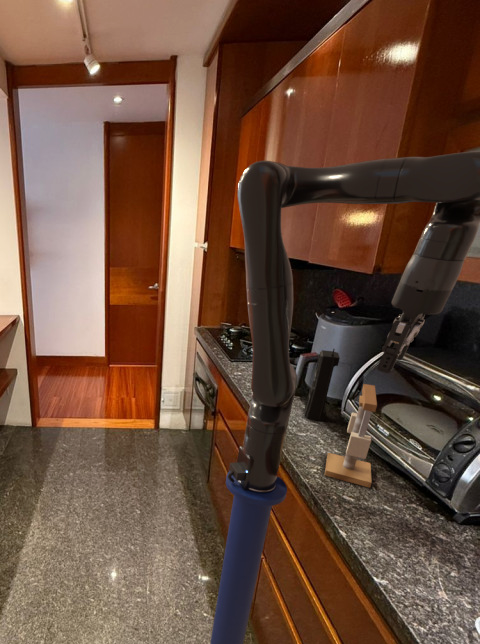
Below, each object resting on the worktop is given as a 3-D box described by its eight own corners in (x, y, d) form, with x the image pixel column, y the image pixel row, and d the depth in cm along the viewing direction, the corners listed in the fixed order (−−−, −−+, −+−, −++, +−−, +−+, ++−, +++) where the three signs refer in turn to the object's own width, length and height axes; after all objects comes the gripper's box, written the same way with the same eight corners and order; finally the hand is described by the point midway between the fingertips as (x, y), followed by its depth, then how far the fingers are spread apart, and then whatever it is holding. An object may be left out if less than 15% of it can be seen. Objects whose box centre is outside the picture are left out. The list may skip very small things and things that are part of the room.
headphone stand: (324, 475, 102) (343, 403, 94) (326, 457, 109) (344, 389, 101) (370, 487, 97) (394, 413, 89) (369, 468, 104) (391, 397, 96)
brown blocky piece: (346, 454, 95) (360, 403, 89) (347, 429, 106) (360, 382, 101) (365, 459, 93) (381, 407, 87) (364, 432, 104) (378, 385, 99)
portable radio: (303, 409, 138) (318, 341, 128) (323, 412, 135) (339, 343, 126) (304, 418, 131) (319, 348, 122) (324, 422, 129) (341, 350, 119)
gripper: (410, 272, 75) (378, 348, 83) (390, 285, 66) (356, 368, 74) (460, 280, 70) (420, 360, 78) (445, 295, 61) (402, 383, 69)
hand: (389, 364), depth 76 cm, fingers open, 8 cm apart
